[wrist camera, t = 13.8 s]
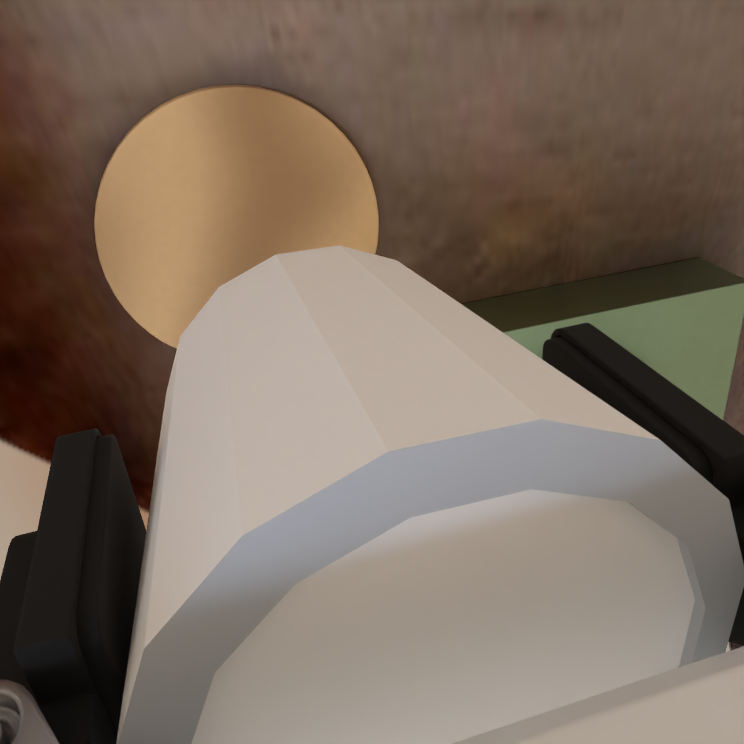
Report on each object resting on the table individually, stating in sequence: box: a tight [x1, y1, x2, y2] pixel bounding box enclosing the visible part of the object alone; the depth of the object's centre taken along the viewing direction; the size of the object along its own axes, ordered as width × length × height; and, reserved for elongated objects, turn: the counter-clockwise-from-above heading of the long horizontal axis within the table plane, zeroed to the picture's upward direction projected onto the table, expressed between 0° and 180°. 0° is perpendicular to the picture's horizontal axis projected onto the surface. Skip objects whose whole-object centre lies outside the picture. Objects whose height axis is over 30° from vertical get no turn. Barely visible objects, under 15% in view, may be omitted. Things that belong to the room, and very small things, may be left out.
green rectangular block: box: [462, 258, 744, 420], centre depth 31 cm, size 14×11×5 cm
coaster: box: [94, 84, 379, 349], centre depth 25 cm, size 10×10×1 cm
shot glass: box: [116, 245, 744, 744], centre depth 10 cm, size 7×7×7 cm
